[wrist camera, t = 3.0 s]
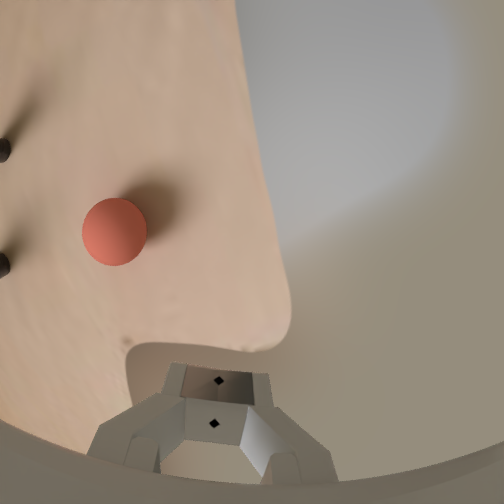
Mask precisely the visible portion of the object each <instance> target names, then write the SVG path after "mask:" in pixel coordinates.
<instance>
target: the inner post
mask: <svg viewBox="0 0 504 504" xmlns="http://www.w3.org/2000/svg"><path fill="white" fill-rule="evenodd" d="M10 149H11V147H10V143H9V141H8V140H7V139H5V138H0V163H3V162H5V161H6V160H7V159H8V157H9V155H10Z"/></svg>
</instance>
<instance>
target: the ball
mask: <svg viewBox="0 0 504 504" xmlns="http://www.w3.org/2000/svg"><path fill="white" fill-rule="evenodd" d="M82 237H83V242H84V245H85V247H86V249H87V251H88V252H89V254H90V255H91V256H92V257H93V258H94V259H95V260H97V261H99V262H100V263H103V264H105V265H110V266H118V265H123V264H126V263H128V262H130V261H131V260H133V259H134V258H135V257H136V256H138V254H139V253H140V252H141V250H142V249H143V247H144V244H145V241H146V237H147V226H146V222H145V219H144V216H143V214H142V213H141V211H140V210H139V209H138V208H137V207H136V206H135V205H134V204H133V203H131V202H129V201H127V200H124V199H120V198H110V199H105V200H103V201H101V202H99V203H97V204H96V205H95V206H94V207H92V209H91V210H90V211H89V212H88V214H87V216H86V218H85V220H84V223H83V229H82Z"/></svg>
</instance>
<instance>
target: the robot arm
mask: <svg viewBox="0 0 504 504" xmlns="http://www.w3.org/2000/svg"><path fill="white" fill-rule="evenodd" d="M184 439H185V440H193V441H203V442H212V443H220V444H228V445H237V446H240V448H241V449H242V451H243V452H244V454H245V455H246V456H247V458H248V459H249V460H250V462H251V463H252V464H253V466H254V467H255V468H256V470H257V471H258V472H259V474H260V475H261V476H262V480H261V483H260V484H241V483H226V482H215V481H206V480H198V479H189V478H183V477H177V476H171V475H164V474H161V469H160V462H162V461H163V460H164V459H165V458H166V457H167V456H168V455H169V454H170V453H171V452H172V451H173V450H175V449H176V448H177V447H178V446H179V445H180V444H181V443H182V442H183V441H184ZM0 504H504V441H503V442H500V443H498V444H495V445H493V446H490V447H488V448H485V449H482V450H480V451H477V452H474V453H471V454H468V455H465V456H462V457H459V458H455V459H452V460H449V461H445V462H442V463H438V464H434V465H431V466H427V467H423V468H419V469H414V470H410V471H405V472H400V473H395V474H390V475H385V476H379V477H372V478H366V479H358V480H350V481H340V482H339V481H338V477H337V474H336V471H335V468H334V464H333V461H332V457H331V454H330V452H329V450H327V449H326V448H325V447H324V446H322V445H321V444H320V443H319V442H317V441H316V440H315V439H314V438H313V437H312V436H310V435H309V434H308V433H307V432H306V431H305V430H303V429H302V428H301V427H300V426H299V425H297V423H295V422H294V421H293V420H292V419H291V418H290V417H289V416H288V415H286V414H285V413H284V412H283V411H282V410H281V409H280V408H278V407H274V406H273V400H272V393H271V386H270V380H269V374H268V373H261V372H242V371H232V370H224V369H218V368H211V367H205V366H199V365H193V364H187V363H181V362H175V361H172V362H171V363H170V365H169V369H168V372H167V375H166V378H165V382H164V385H163V388H162V392H161V393H155V394H154V395H152V396H150V397H148V398H146V399H145V400H143V401H141V402H140V403H138V404H136V405H135V406H133V407H131V408H129V409H128V410H126V411H124V412H122V413H121V414H119V415H117V416H115V417H114V418H112V419H110V420H108V421H106V422H105V423H103V424H101V425H99V428H98V430H97V432H96V434H95V437H94V439H93V441H92V443H91V446H90V448H89V450H88V452H87V455H85V454H82V453H79V452H76V451H73V450H70V449H68V448H65V447H62V446H59V445H57V444H54V443H52V442H49V441H47V440H44V439H42V438H39V437H37V436H35V435H32V434H30V433H28V432H26V431H23V430H21V429H19V428H17V427H15V426H13V425H11V424H9V423H7V422H5V421H3V420H1V419H0Z"/></svg>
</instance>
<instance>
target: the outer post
mask: <svg viewBox="0 0 504 504" xmlns="http://www.w3.org/2000/svg"><path fill="white" fill-rule="evenodd" d="M9 271H10V264H9V261H8V259H7V257H6V256H5V255H4V254H2V253H0V279H1V278H2V277H4V276H6V275H7V274H8V273H9Z"/></svg>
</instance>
